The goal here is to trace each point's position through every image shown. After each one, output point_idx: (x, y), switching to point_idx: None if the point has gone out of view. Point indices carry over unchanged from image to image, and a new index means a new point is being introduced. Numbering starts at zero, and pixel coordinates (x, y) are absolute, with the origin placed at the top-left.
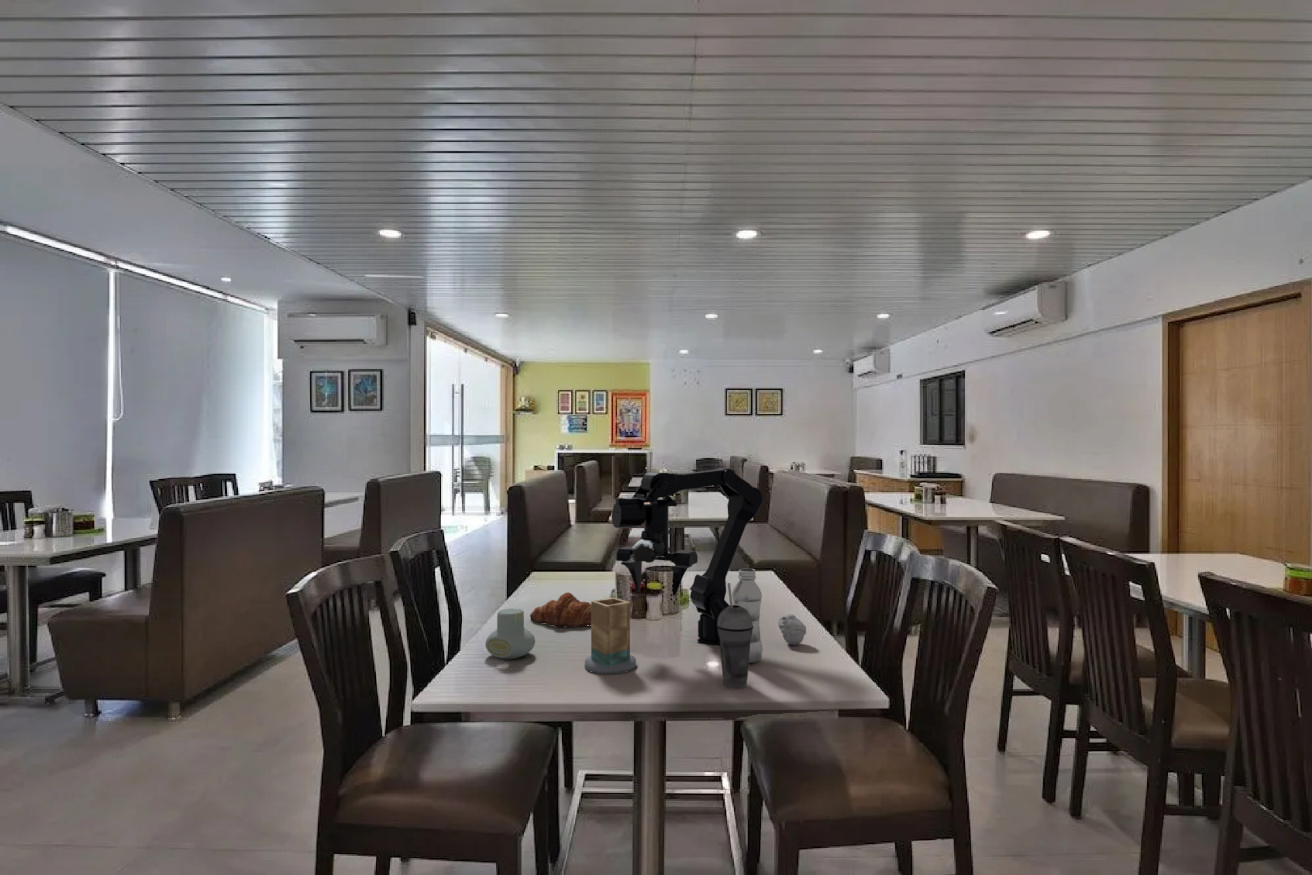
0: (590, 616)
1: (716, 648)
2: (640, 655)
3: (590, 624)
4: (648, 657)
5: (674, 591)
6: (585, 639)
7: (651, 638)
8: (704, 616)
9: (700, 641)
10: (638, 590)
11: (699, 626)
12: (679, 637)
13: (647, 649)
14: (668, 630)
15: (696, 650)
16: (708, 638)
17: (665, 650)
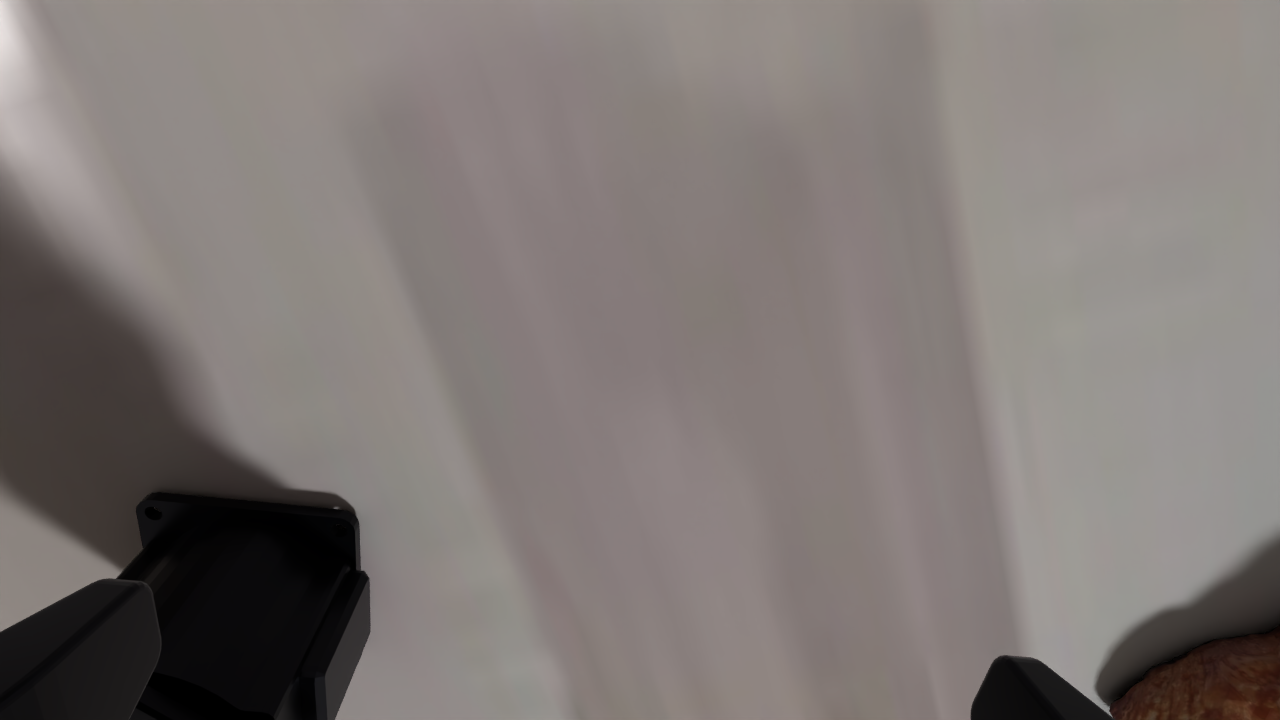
0: (1275, 699)
1: (157, 420)
2: (688, 51)
3: (1228, 645)
4: (598, 10)
5: (21, 627)
6: (1240, 355)
7: (722, 510)
8: (208, 689)
9: (325, 510)
10: (1005, 673)
11: (324, 634)
12: (530, 580)
13: (676, 243)
14: (655, 690)
15: (279, 331)
16: (253, 534)
17: (520, 260)
